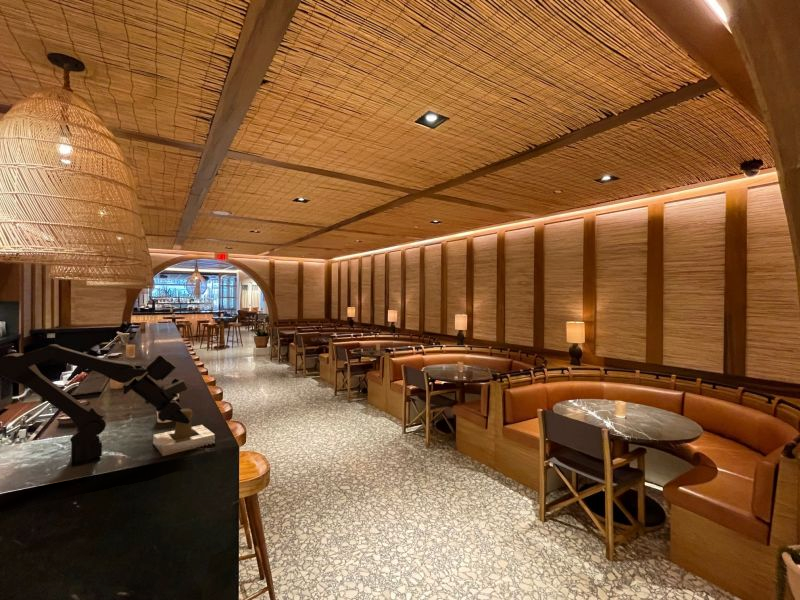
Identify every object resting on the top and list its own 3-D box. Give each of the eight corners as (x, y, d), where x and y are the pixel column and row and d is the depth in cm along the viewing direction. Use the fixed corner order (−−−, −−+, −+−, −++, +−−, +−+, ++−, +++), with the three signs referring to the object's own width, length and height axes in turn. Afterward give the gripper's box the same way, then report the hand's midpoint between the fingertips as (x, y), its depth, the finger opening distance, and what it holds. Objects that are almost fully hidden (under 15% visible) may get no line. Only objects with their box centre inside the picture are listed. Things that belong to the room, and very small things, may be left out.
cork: (183, 446, 119) (184, 412, 119) (168, 444, 120) (169, 411, 120) (197, 439, 125) (198, 407, 125) (182, 438, 126) (183, 406, 126)
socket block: (162, 455, 112) (163, 446, 112) (153, 443, 122) (153, 434, 122) (214, 443, 122) (214, 434, 122) (201, 433, 132) (202, 424, 132)
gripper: (172, 377, 113) (210, 407, 119) (171, 368, 128) (205, 396, 134) (140, 405, 108) (182, 436, 114) (143, 393, 124) (179, 420, 130)
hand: (188, 420), depth 123 cm, fingers closed on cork, 5 cm apart
